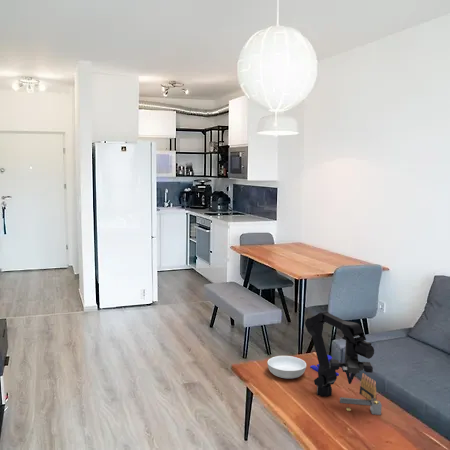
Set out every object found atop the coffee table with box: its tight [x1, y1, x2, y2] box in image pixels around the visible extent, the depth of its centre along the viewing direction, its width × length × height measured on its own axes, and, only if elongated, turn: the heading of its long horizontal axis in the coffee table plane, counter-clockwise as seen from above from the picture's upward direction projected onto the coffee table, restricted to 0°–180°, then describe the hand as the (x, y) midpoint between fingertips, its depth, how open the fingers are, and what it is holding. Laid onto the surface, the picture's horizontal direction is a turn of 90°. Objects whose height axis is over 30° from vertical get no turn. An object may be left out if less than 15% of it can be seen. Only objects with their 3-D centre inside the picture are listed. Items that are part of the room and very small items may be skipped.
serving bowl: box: [267, 355, 307, 380], centre depth 251 cm, size 21×21×7 cm
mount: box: [309, 354, 340, 377], centre depth 256 cm, size 15×8×9 cm, turn 30°
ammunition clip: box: [359, 372, 377, 400], centre depth 224 cm, size 11×2×12 cm, turn 20°
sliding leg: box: [369, 398, 383, 416], centre depth 213 cm, size 4×8×5 cm, turn 173°
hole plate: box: [339, 396, 371, 412], centre depth 212 cm, size 18×13×3 cm
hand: (349, 383), depth 213 cm, fingers closed
